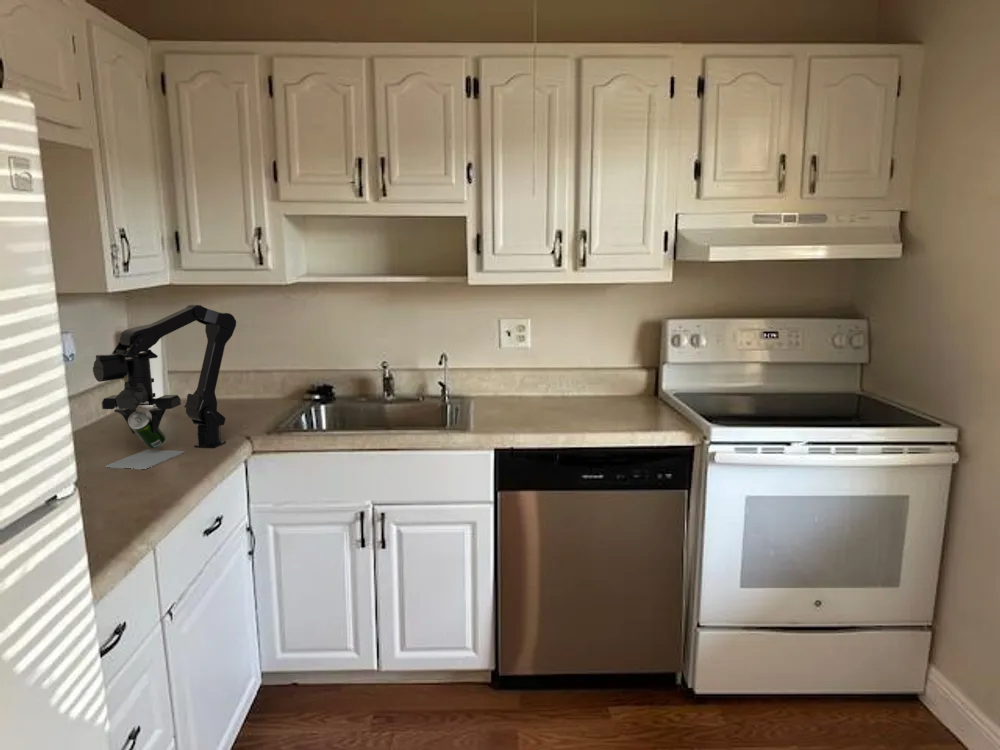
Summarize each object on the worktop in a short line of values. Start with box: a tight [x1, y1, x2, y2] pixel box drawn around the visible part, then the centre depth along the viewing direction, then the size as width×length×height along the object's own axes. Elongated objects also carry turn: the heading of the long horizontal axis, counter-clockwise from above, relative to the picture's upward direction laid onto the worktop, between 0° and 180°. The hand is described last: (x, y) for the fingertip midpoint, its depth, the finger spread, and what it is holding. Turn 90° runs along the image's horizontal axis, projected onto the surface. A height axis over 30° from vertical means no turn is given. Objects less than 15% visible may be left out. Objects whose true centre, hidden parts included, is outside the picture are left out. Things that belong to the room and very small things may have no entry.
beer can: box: [128, 410, 166, 450], centre depth 189 cm, size 5×5×12 cm
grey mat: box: [105, 448, 186, 470], centre depth 189 cm, size 16×12×1 cm
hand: (144, 433), depth 188 cm, fingers closed on beer can, 5 cm apart
